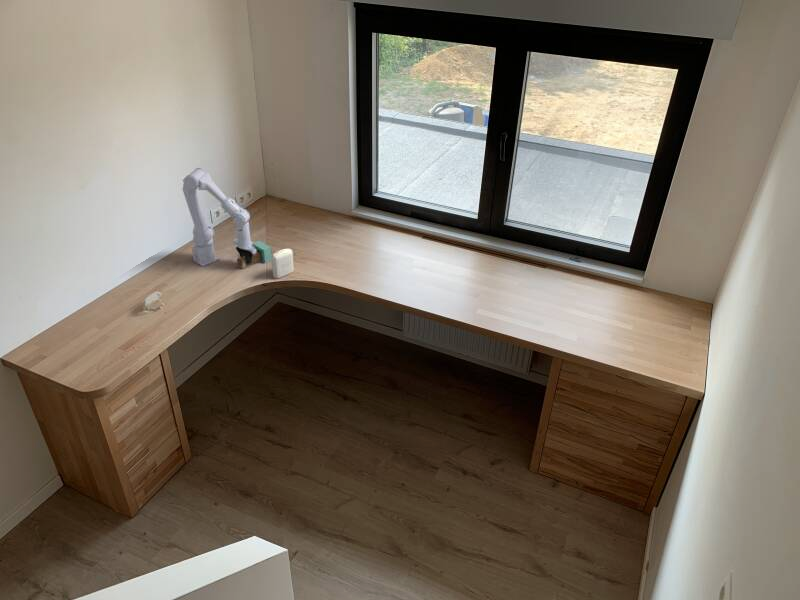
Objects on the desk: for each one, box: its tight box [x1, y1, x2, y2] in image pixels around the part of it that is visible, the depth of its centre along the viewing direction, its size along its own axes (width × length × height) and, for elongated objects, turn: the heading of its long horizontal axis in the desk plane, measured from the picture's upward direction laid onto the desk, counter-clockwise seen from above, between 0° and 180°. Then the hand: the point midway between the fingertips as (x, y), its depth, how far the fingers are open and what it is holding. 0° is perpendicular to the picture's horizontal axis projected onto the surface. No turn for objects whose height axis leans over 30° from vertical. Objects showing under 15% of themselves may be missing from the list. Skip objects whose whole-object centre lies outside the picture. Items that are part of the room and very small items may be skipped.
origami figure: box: [142, 290, 165, 315], centre depth 257 cm, size 12×8×5 cm
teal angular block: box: [252, 240, 273, 264], centre depth 292 cm, size 4×9×7 cm, turn 48°
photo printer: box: [271, 248, 295, 279], centre depth 280 cm, size 10×4×12 cm, turn 135°
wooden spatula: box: [236, 250, 273, 270], centre depth 290 cm, size 18×3×4 cm, turn 138°
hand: (246, 261), depth 288 cm, fingers closed on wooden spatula, 3 cm apart
